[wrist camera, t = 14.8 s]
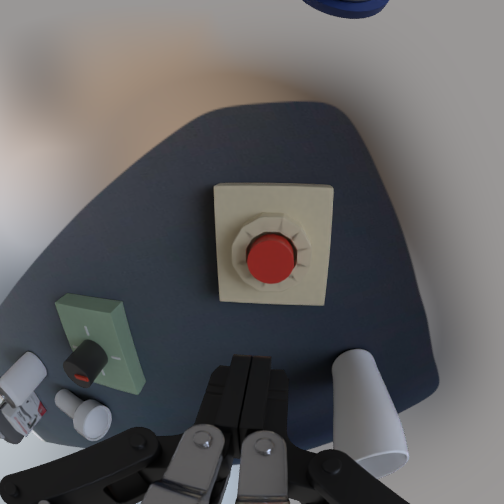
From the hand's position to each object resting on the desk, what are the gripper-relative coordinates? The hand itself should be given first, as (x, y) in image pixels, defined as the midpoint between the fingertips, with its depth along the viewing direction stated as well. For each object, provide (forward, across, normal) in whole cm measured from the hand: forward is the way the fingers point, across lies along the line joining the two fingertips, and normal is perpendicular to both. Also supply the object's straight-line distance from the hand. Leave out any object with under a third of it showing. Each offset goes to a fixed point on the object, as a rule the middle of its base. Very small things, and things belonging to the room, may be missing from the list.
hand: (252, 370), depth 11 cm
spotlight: (+17, +34, +33) cm, 50 cm away
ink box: (+17, +60, +44) cm, 76 cm away
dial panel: (+17, +23, +15) cm, 32 cm away
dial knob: (+14, +23, +15) cm, 31 cm away
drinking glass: (+17, -10, +15) cm, 25 cm away
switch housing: (+17, 0, 0) cm, 17 cm away
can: (+17, +47, +27) cm, 57 cm away
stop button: (+13, 0, 0) cm, 13 cm away
